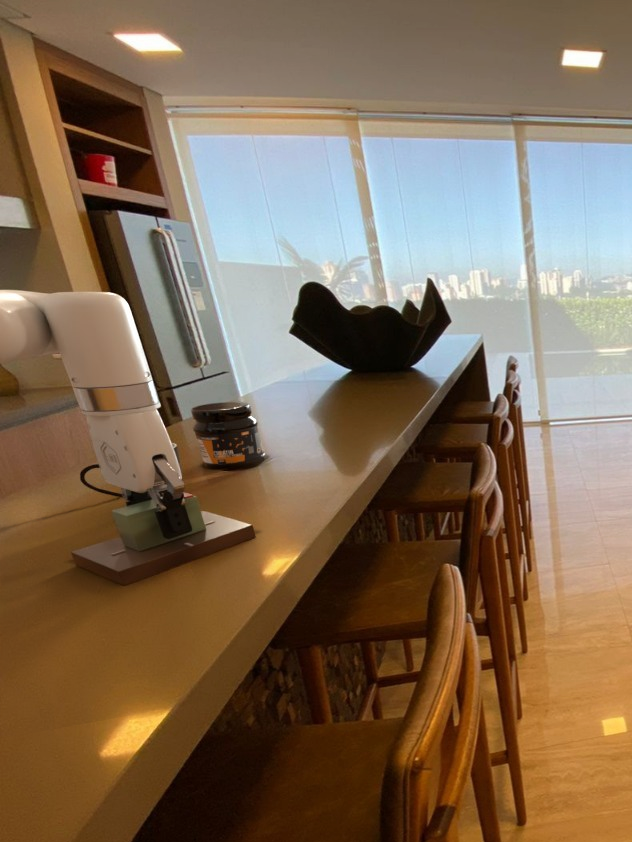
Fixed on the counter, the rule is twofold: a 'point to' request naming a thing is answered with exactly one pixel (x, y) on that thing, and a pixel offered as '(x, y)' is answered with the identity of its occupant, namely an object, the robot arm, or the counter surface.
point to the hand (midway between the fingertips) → (163, 529)
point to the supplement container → (228, 436)
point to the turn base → (161, 551)
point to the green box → (151, 523)
